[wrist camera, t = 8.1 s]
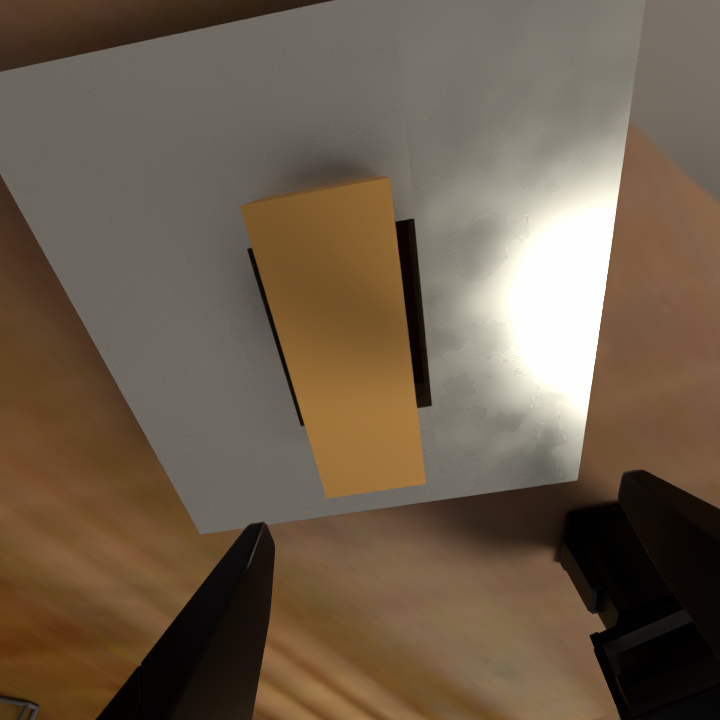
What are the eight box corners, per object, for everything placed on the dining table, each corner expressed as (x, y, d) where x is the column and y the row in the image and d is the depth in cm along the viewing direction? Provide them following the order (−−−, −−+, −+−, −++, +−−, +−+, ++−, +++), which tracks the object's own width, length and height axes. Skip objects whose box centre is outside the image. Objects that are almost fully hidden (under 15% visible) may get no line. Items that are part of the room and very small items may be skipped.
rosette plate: (559, 4, 14) (655, -69, 10) (533, 421, 23) (577, 480, 19) (65, 107, 15) (-51, 82, 11) (227, 467, 24) (200, 534, 20)
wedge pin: (372, 173, 16) (389, 177, 10) (402, 389, 21) (425, 483, 15) (281, 190, 16) (239, 205, 10) (332, 400, 21) (326, 498, 15)
